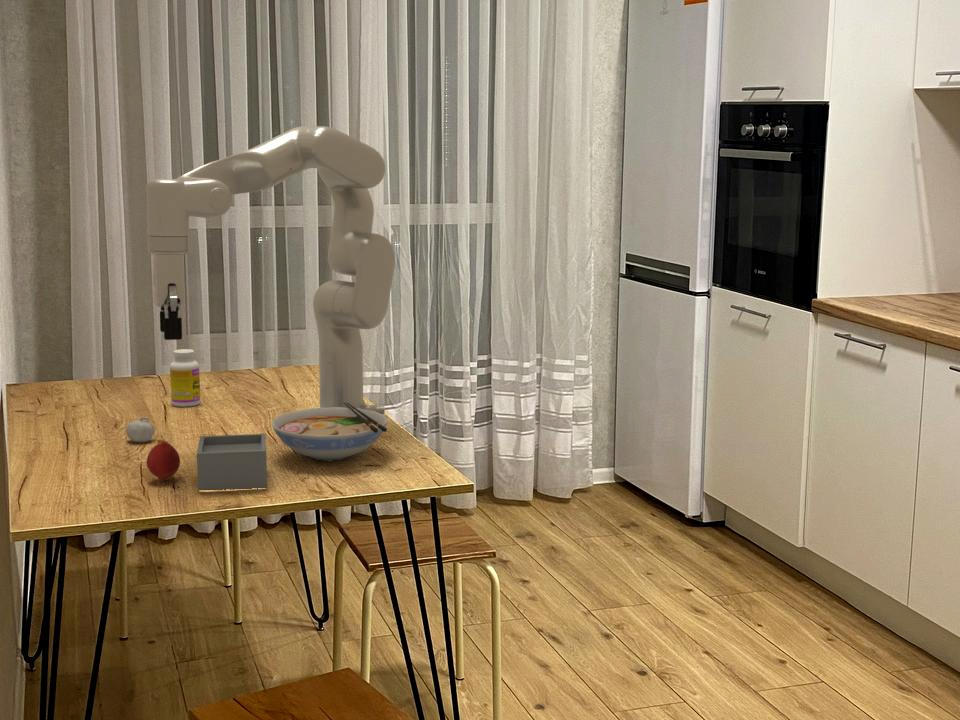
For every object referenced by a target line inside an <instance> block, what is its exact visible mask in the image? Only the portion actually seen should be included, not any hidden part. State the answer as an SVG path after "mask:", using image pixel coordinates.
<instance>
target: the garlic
mask: <svg viewBox="0 0 960 720" xmlns="http://www.w3.org/2000/svg"><path fill="white" fill-rule="evenodd" d="M149 420H150V418H149V417H148V416H143V417H140V418H139V419H136V420H134V421H131V422H129V423H128V425H127V426H126V436H127V437H128V438H129V440H130V441H131V442H135V443H138V444H139V443H147V442H149V441H150V440H152V438H153V436H154V435H155V433H156V432H155V431H156V430H155V429H156V428H155V426H154V425H153V424H152V423H151V422H150V421H149Z"/></svg>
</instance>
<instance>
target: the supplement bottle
mask: <svg viewBox="0 0 960 720" xmlns="http://www.w3.org/2000/svg"><path fill="white" fill-rule="evenodd" d="M173 357H174V360H173V361H172V362H171V363H170V365H169V373H170V374H169V375H170V396H171V397H170V399H171V404H172V405H173V406H175V407H181V408H189V407H190V408H191V407H195V406H197V405H199V404H200V403H201V387H200V386H201V382H200V381H201V380H200V364H199V362H198V361H196V360H195V359H194V357H195V350H194V349H190V348H189V349H188V348H183V349H176V350H173Z"/></svg>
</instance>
